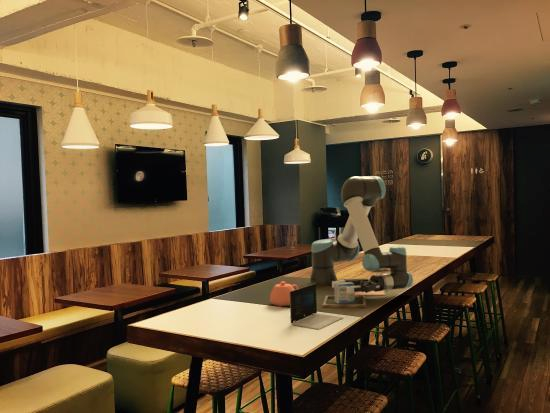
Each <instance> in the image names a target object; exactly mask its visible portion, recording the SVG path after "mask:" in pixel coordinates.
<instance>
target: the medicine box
mask: <svg viewBox="0 0 550 413" xmlns="http://www.w3.org/2000/svg"><path fill="white" fill-rule="evenodd" d="M351 286H354V283H352V282H344V283H334V288H333V289H334V296H335V298H334V303H336V304H353V303H355V302H356V301H355V300H356V298H355V296H356V295H355V293H348V294H347V291H346V287H351Z"/></svg>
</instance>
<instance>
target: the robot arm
mask: <svg viewBox="0 0 550 413" xmlns="http://www.w3.org/2000/svg"><path fill="white" fill-rule="evenodd" d="M386 189H387V188H386V183H385V181H384V180H383V178H382V177H380V176H376V175H375V176H374V175H370V176H369V175H368V176H351V177H349V178H347V180H345V181H344V183H343V185H342V187H341V190H340V191H341V193H340V198H341V202H342V205H343V207H344V208H346V209H347V212H348V214H349V216H348V219H347V221H346V223H345V226H344V229H343V231H342V233H340V234H339V235H338V236H337V238H336V240H333V239H331V238H325V239H319V240H315V241H313V242H312V243H311V250H310V251H311V252H310V253H311V273H310V276H309V281H308V283H309V285H311V284H314V283H316V287H317V286H319V287H323V286H324V287H328V286H331V288H332V289H334V283H344V282H352V283H354V286H351V287H346V291H347V294H348V293H356V292H365V293H368V292H371V291H375V292H378V291H384V292H388V291H392V290H402V289H403V290H404V289H407V288H410V287H412V285H413V283H414V277H413V275H412V273H411V272H410V271H408V268H407V267H408V266H407V265H408V263H407V258H408V257H407V256H408V255H407V249H406V247H404V246H397V245H396V246H391V247H389V251H385V252H382V250H381V248H380V245H379V242H378V241H377V238H376V236H375V233H374V230H373V228H372V224H371V222H370V220H369V217H368V216H369V213H370V210H371V208H372V207H375V206H376V205H377V202H378V200H382V199H384V198H385V195H386V192H387V190H386ZM359 243H360V244H359ZM360 246H361V249H362V251H363V254H364V255H363V256H362V258H361V262H362V263H361V265H362V268H363V269H364V270H366V271H368V272H369V271H370V272H371V271H372V272H373V271H374V272H375V271H376V270H381V269H386V270H388V269H389V272H390V273H380V274H372V275H371V276H370V278H369V279H368V278H348V279H347V278H344V279H342V280H338V277H337V274H336V272H335V268H334V266H335V265H334V264H336V263H345V262H346V263H347V262H352V261H355V260H357V259H358V257H359V254H360ZM376 272H377V271H376Z"/></svg>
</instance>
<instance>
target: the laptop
mask: <svg viewBox="0 0 550 413" xmlns="http://www.w3.org/2000/svg"><path fill="white" fill-rule="evenodd" d="M317 306H318V303H317V286H316V283H314V284H308V285H306V286H302V287H298V289H296V288H295V289H294V290H293V291H290V305H289V308H290V310H289V312H290V317H289V318H290V324H291V326H295V327H296V326H297V327H300V328H301V327H302V328H306V329H313V330H321V329H323V328H325V327H327V326H329V325H331V324H333V323H336V322H338V321H340V320H342V319H344V317H343V316H337V315H332V314H326V313H325V314H324V313H318V310H317V309H318V308H317Z"/></svg>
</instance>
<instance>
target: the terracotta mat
mask: <svg viewBox="0 0 550 413" xmlns="http://www.w3.org/2000/svg"><path fill="white" fill-rule="evenodd" d="M355 296H386V294H385V291H378V292H375V291H371V292H368V293H365V292H356V293H355Z"/></svg>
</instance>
